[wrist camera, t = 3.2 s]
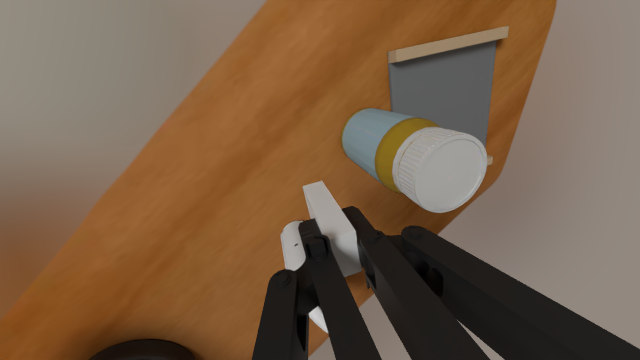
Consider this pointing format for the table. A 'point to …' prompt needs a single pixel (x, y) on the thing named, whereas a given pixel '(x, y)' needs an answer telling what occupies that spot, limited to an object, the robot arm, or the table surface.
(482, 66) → the grey tray
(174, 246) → the table surface
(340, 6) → the table surface
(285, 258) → the photo printer
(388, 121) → the bottle
